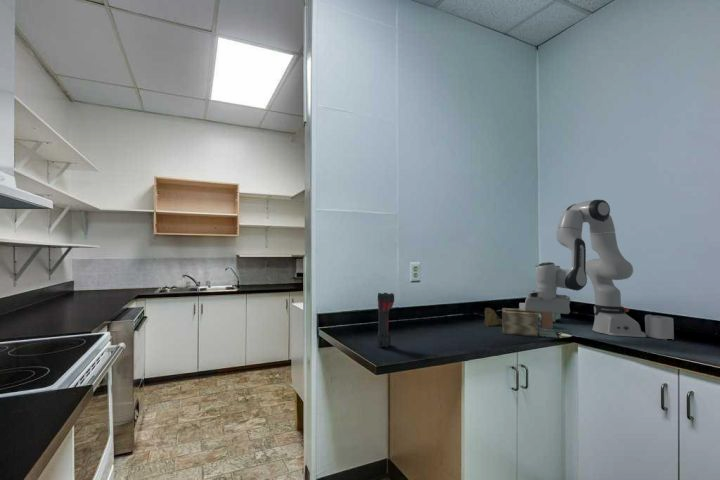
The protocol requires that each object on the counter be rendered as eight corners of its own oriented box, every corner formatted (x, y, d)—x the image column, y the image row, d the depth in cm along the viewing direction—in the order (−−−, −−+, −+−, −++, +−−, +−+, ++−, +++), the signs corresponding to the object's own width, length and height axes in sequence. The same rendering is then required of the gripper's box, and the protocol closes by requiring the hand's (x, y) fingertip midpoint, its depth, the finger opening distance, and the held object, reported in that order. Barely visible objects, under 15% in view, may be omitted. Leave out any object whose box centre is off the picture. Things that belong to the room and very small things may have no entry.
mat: (554, 333, 171) (554, 332, 171) (557, 337, 162) (557, 336, 162) (537, 331, 174) (537, 330, 175) (539, 336, 165) (539, 334, 165)
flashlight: (392, 343, 150) (393, 292, 151) (395, 347, 142) (395, 294, 143) (375, 343, 149) (376, 292, 150) (377, 347, 141) (377, 294, 143)
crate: (534, 330, 177) (534, 310, 177) (537, 336, 164) (537, 314, 164) (502, 328, 183) (502, 308, 183) (502, 333, 170) (502, 312, 171)
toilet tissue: (664, 340, 159) (663, 319, 159) (637, 334, 170) (636, 315, 171) (679, 339, 162) (678, 318, 162) (652, 333, 173) (651, 314, 174)
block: (551, 327, 170) (551, 311, 170) (552, 328, 166) (552, 312, 166) (541, 326, 171) (541, 310, 172) (542, 327, 167) (542, 311, 168)
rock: (498, 319, 197) (481, 316, 199) (503, 309, 192) (485, 306, 194) (501, 333, 189) (483, 330, 190) (506, 323, 184) (487, 320, 185)
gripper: (568, 294, 168) (569, 322, 167) (524, 292, 176) (524, 318, 175) (571, 296, 162) (571, 324, 162) (525, 293, 170) (525, 320, 170)
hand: (546, 321), depth 169 cm, fingers closed on block, 4 cm apart
